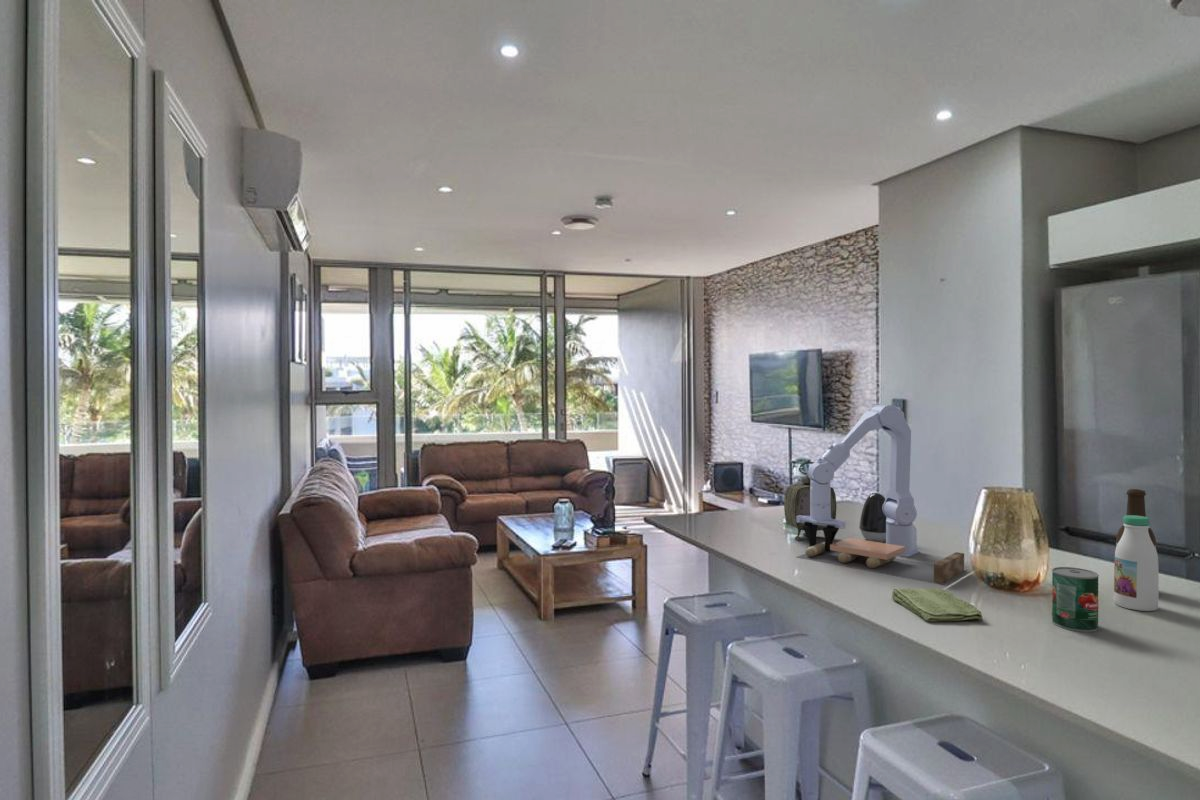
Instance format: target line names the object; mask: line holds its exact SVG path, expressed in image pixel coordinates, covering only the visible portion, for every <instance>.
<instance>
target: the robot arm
mask: <svg viewBox="0 0 1200 800" xmlns="http://www.w3.org/2000/svg"><path fill="white" fill-rule="evenodd" d="M880 429H882V430H883V431H884V432H885V433H887V434H888V436H890V463H889V464H890V466H889V467H890V469H889V470H890V471H889V490H888V491H887V492H886V494H885V502H884V504H883V506H882V511H883V513H884V515H885V516H886V541H885V543H887V544H893V545H899V546H905V552H904V553H901V554H899V555H898V556H900V557H906V558H907V557H910V556H913V555H915V554H917V553H920V552H921V549H918V545H917V543H918V542H917V540H918V539H917V537H918V534H917V533H918V531H917V527H916V526H915V524H914V522H915V520H916V519H917V516H918V515H917V514H918V511H917V509H916V507H915V499H914V497H913V495H912V493H911V492H910V487H911V486H910V485H911V484H910V482H911V477H910V476H911V456H912V455H911V450H912V448H911V447H912V429H911V427H910V426H909V423H908V421H907V420H906V418H905V412H904V411H902V410H901V409H900V408H899V407H898V406H896V405H892V404H890V405H889V404H888V405H886V404H885V405H884V404H881V403H880V404H877V403H876V404H873V405H872V406H870V407H869V408H868V410H867V411H865V412H864V413H863V414H862V416H861V418H860V419H859V420H858V421H857V423H855V425H853V427H852V428H851V429H850V431H848V433H847V434H846V435H845V436H844V438H843V439H842V440H841V441H840V442H834V443H833V444H829V445H828V446H827V449H826V452H824V453H823V454H822V455H821V457H817V459H816V461H817V462H814V463H813V464H811V465H809V467H808V470H807V471H806V473H807V475H808V477H809V478H810V516H803V515H798V516H796V520H797V522H798V523H800V522H802V523H805V524H804V525H803V529H804V530H803V531H804V533H806V535H807V537H806V538H807V540H808V544H809V547H811V546H814V545H817V534H818V533H817V532H818V531H817V528H818V525H822V526H827V527H825V528H823V530H822V532H823V536H824V542H825V552H829V551H831V550H830V545H831V544H832V543H833V542H834V540H835V537H836V536H837V533H838V531H839V530H844V529H846V528H847V527H846V526H847V524H846V520H845V521H844V520H839V519H832V518H831V488H830V487H831V481H832V480H834V477H835V472H837V470H838V469H840V467H841V466H843V464H844V463H845V461H847V460H848V459H849V458H850V456H851V449H852V448H853V447H854V446H856V445H857V443H859V442H860V441H861V440H862V439H863V438H864V437H865V436H866V435H867V434H868V433H869V432H871V431H874V430H880ZM807 475H806V476H807Z"/></svg>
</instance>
